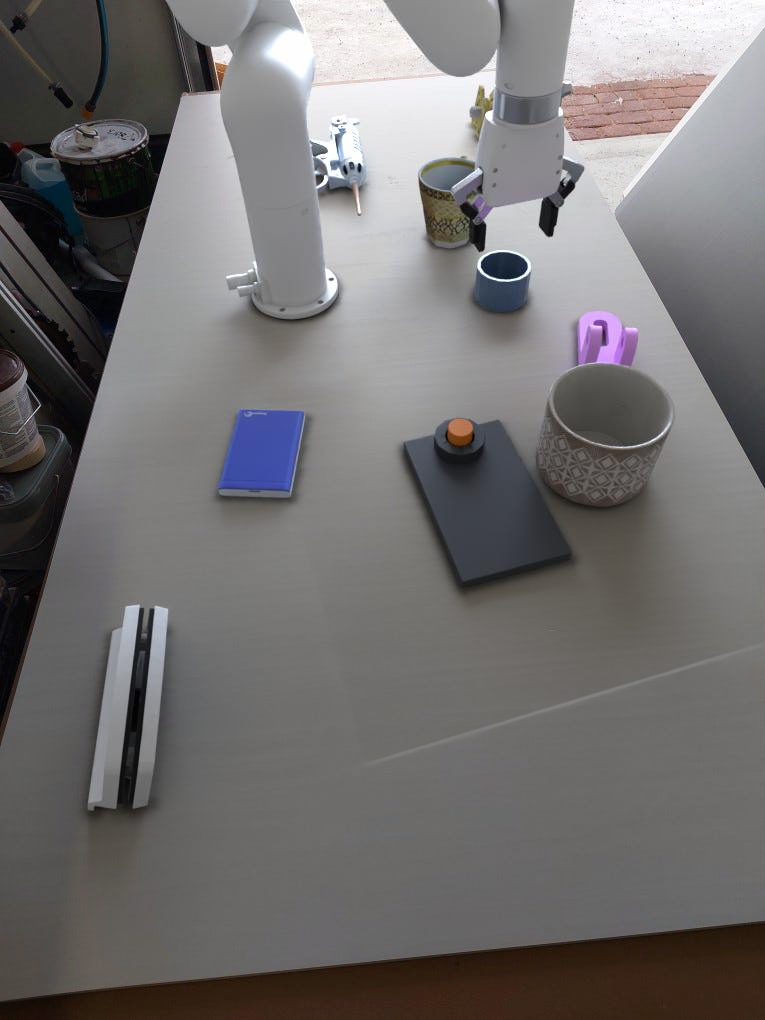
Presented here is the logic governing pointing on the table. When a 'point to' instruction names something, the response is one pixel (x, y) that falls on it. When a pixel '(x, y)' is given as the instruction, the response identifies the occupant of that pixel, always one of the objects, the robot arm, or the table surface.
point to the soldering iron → (340, 158)
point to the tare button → (460, 432)
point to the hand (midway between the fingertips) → (511, 239)
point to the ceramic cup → (445, 200)
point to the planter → (603, 433)
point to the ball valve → (481, 109)
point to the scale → (485, 504)
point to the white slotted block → (130, 710)
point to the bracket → (617, 340)
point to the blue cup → (502, 280)
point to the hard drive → (263, 454)
